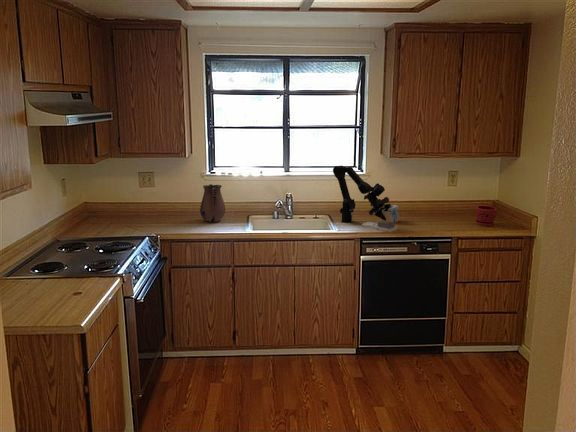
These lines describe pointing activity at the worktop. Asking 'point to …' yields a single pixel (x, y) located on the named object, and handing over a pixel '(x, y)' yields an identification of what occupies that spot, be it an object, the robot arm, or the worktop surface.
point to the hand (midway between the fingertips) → (387, 219)
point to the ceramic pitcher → (212, 203)
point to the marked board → (374, 225)
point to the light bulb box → (394, 213)
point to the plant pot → (485, 215)
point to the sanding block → (386, 223)
